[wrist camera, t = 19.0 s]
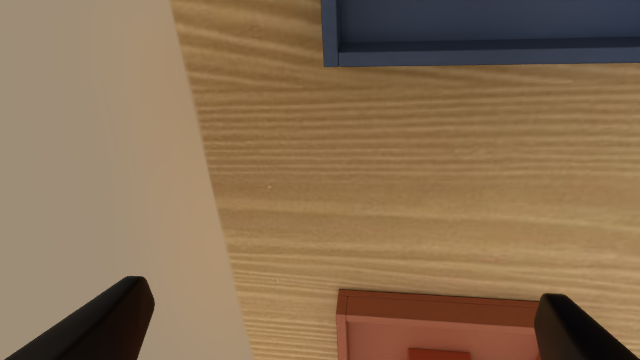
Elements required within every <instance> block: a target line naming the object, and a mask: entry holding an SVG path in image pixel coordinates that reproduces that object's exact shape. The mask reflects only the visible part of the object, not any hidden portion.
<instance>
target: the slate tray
mask: <svg viewBox="0 0 640 360" xmlns="http://www.w3.org/2000/svg"><path fill="white" fill-rule="evenodd" d="M321 17H322V37H323V58H324V67H338V66H339V67H368V66H440V65H513V64H585V63H640V0H321Z"/></svg>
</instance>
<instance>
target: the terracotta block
mask: <svg viewBox="0 0 640 360" xmlns="http://www.w3.org/2000/svg"><path fill="white" fill-rule="evenodd" d="M407 360H472V359H471V354H470V353H465V352H453V351H440V350H427V349H414V348H409V349H408V356H407Z"/></svg>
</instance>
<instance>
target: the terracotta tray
mask: <svg viewBox="0 0 640 360" xmlns="http://www.w3.org/2000/svg"><path fill="white" fill-rule="evenodd" d="M538 305H539V302H533V301H517V300H501V299H484V298H468V297H451V296H435V295H419V294H402V293H386V292H369V291H353V290H339V294H338V302H337V310H336V325H337V346H338V360H407V356H408V349H409V348H414V349H427V350H440V351H453V352H465V353H470V354H471V359H472V360H541V357H540V352H539V348H538V344H537V339H536V335H535V330H534V318H535V315H536V311H537V308H538Z"/></svg>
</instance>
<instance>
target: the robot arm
mask: <svg viewBox="0 0 640 360" xmlns="http://www.w3.org/2000/svg"><path fill="white" fill-rule="evenodd" d="M154 305H155V302H154V298H153V295H152V293H151V290H150V288H149V285H148V283H147V280H146V279H145V278H144V277H142V276H127V277H125V278H123V279H122V280H120V281H119V282H117V283H116V284H114V285H113V286H111V287H110V288H109V289H107V290H106V291H104V292H103V293H101V294H100V295H98V296H97V297H96V298H94V299H93V300H91V301H90V302H88V303H87V304H85V305H84V306H83V307H81V308H79V309H78V310H76V311H75V312H73V313H72V314H70V315H69V316H68V317H66V318H65V319H63V320H62V321H60V322H59V323H57V324H56V325H54V326H53V327H51V328H50V329H49V330H47V331H46V332H44V333H43V334H41V335H40V336H38V337H37V338H35V339H34V340H32V341H31V342H30V343H28V344H27V345H25V346H24V347H22V348H21V349H19V350H18V351H16V352H15V353H13V354H12V355H10V356H9V357H8V358H6V359H5V360H137V358H138V355H139V352H140V348H141V346H142V343H143V340H144V337H145V334H146V331H147V329H148V326H149V322H150V320H151V317H152V314H153V311H154ZM534 330H535V335H536V339H537V344H538V348H539V352H540V357H541V360H640V359H639V358H638V357H636V356H635V355H634V354H633V353H632V352H631V351H630V350H628V349H627V348H626V347H625V346H624V345H623V344H621V343H620V342H619V341H618V340H617V339H616V338H615V337H613V336H612V335H611V334H610V333H609V332H608V331H607V330H605V329H604V328H603V327H602V326H601V325H600V324H598V323H597V322H596V321H595V320H594V319H593V318H592V317H590V316H589V315H588V314H587V313H586V312H585V311H583V310H582V309H581V308H580V307H579V306H578V305H577V304H575V303H574V302H573V301H572V300H571V299H570V298H568V297H567V296H566V295H564V294H552V293H545V294H543V295H542V296H541V298H540V302H539V305H538V308H537V311H536V315H535V318H534Z"/></svg>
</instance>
